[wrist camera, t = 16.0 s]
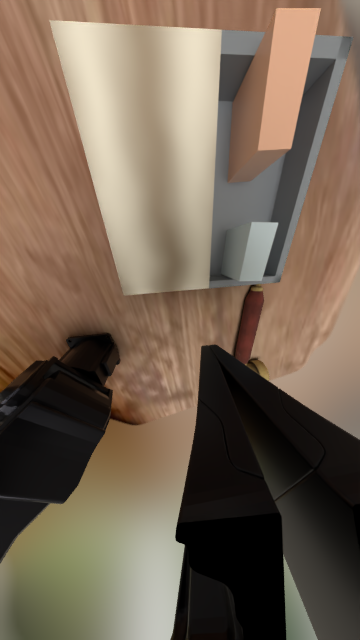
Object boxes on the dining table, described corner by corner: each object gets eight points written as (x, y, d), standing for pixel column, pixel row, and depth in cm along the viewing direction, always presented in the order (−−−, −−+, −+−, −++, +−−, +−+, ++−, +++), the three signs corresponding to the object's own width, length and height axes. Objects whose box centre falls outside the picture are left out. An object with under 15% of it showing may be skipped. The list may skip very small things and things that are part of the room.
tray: (201, 282, 19) (208, 288, 16) (205, 90, 11) (221, 29, 8) (261, 277, 19) (279, 282, 16) (303, 93, 12) (353, 36, 9)
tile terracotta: (257, 150, 9) (291, 148, 9) (276, 8, 7) (320, 8, 7) (227, 182, 14) (250, 181, 14) (232, 103, 11) (260, 102, 11)
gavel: (233, 281, 16) (306, 278, 17) (219, 277, 20) (278, 275, 21) (217, 394, 25) (266, 389, 26) (210, 375, 29) (252, 371, 30)
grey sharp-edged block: (239, 281, 14) (261, 281, 14) (251, 221, 11) (278, 222, 11) (220, 273, 18) (238, 273, 18) (227, 230, 16) (246, 230, 16)
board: (130, 287, 18) (123, 295, 15) (83, 88, 10) (49, 20, 7) (201, 282, 19) (208, 288, 16) (205, 90, 11) (221, 29, 8)
